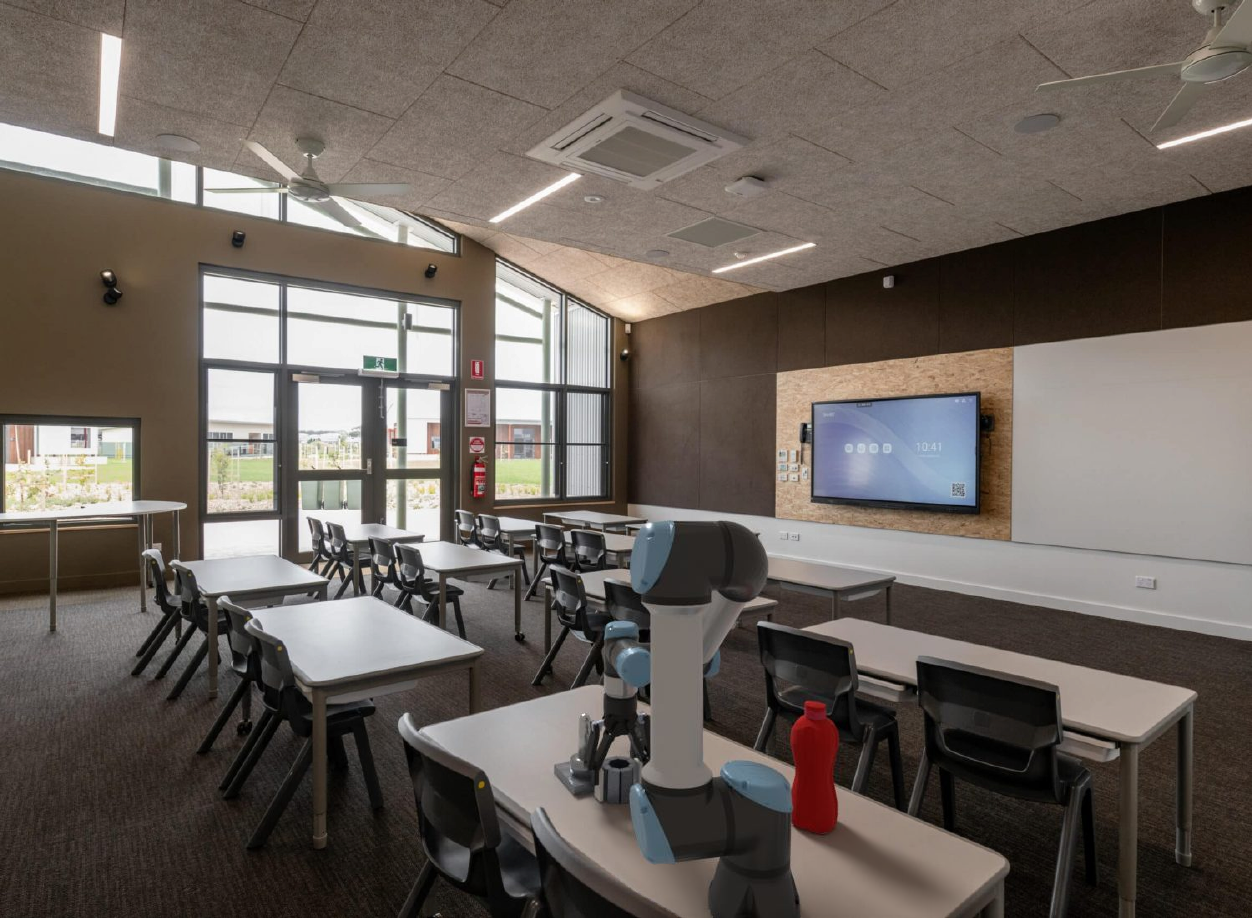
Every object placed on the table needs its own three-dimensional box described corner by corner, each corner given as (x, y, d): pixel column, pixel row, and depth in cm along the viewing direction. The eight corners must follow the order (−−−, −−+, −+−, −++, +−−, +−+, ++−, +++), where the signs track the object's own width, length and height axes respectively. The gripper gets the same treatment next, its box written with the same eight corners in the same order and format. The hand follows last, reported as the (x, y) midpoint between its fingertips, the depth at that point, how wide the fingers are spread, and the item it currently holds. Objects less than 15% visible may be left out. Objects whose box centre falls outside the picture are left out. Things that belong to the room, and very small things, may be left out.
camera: (673, 764, 168) (673, 724, 168) (635, 770, 164) (636, 729, 164) (651, 742, 180) (652, 705, 180) (616, 747, 177) (617, 709, 177)
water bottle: (842, 815, 145) (845, 697, 145) (829, 840, 136) (832, 714, 135) (799, 803, 150) (802, 689, 150) (784, 826, 140) (786, 704, 140)
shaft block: (614, 786, 156) (615, 719, 156) (574, 795, 151) (575, 726, 151) (592, 764, 167) (593, 702, 166) (554, 772, 162) (555, 708, 162)
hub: (641, 799, 150) (642, 767, 150) (610, 806, 147) (611, 774, 147) (625, 784, 157) (626, 753, 157) (596, 791, 153) (596, 760, 153)
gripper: (654, 680, 160) (652, 777, 160) (568, 694, 150) (566, 796, 150) (671, 690, 154) (669, 791, 154) (582, 705, 144) (580, 812, 144)
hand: (618, 793), depth 152 cm, fingers open, 9 cm apart
